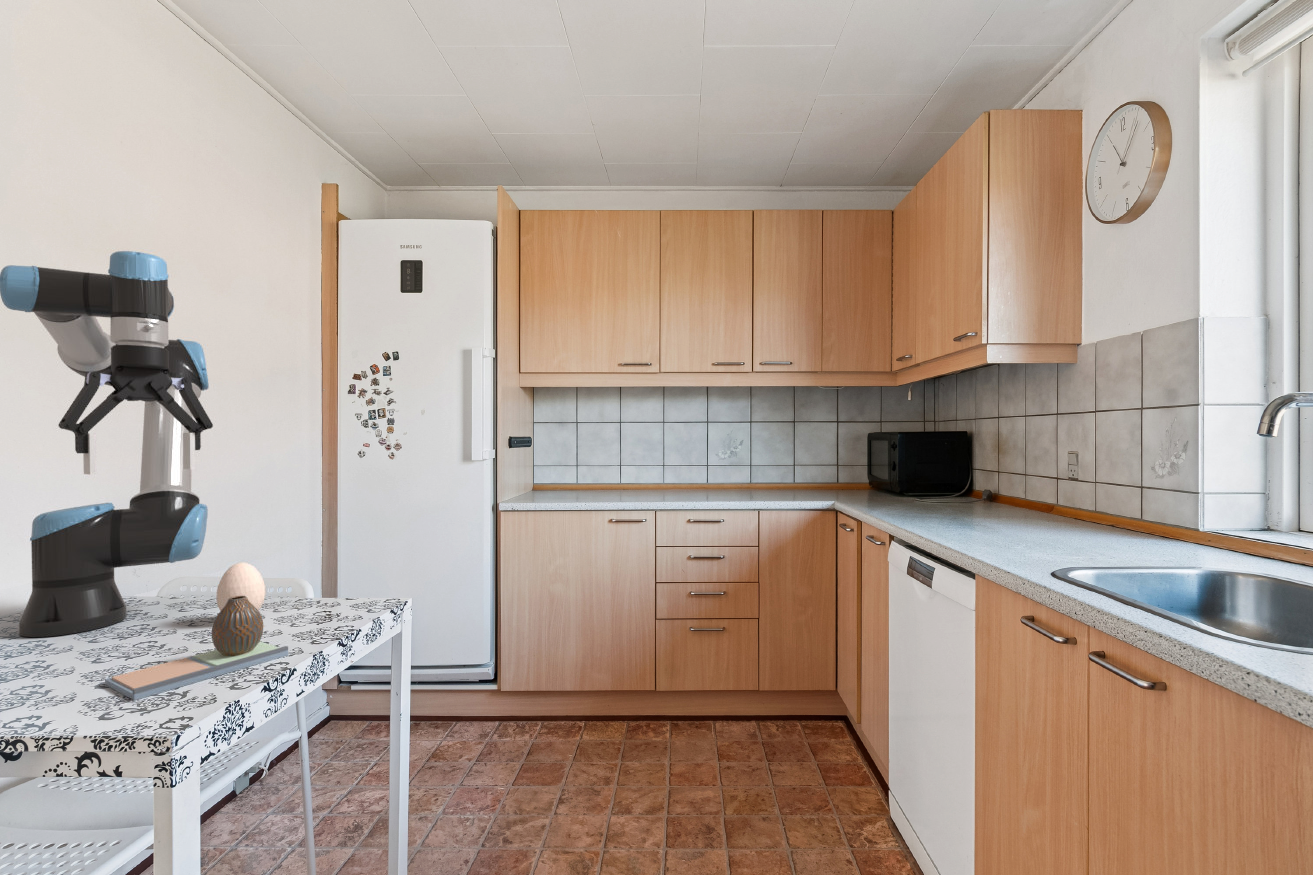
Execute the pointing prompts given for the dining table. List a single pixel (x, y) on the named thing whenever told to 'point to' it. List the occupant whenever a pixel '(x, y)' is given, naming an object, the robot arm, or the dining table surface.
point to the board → (189, 671)
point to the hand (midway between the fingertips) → (142, 471)
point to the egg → (241, 585)
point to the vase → (237, 627)
